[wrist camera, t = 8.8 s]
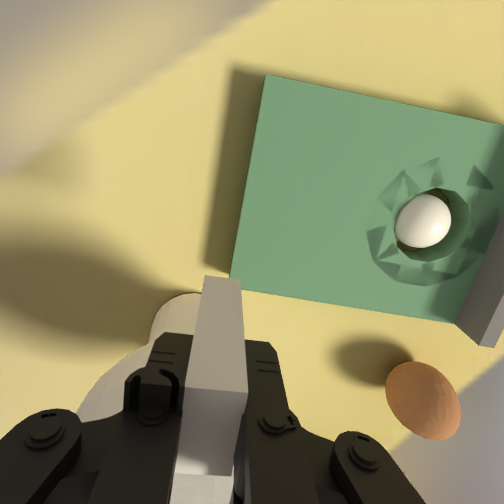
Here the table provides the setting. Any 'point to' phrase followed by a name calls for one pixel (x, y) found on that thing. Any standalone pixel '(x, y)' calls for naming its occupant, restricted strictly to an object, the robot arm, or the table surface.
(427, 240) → the ball
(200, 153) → the table surface
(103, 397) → the cup
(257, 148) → the green
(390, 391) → the egg
